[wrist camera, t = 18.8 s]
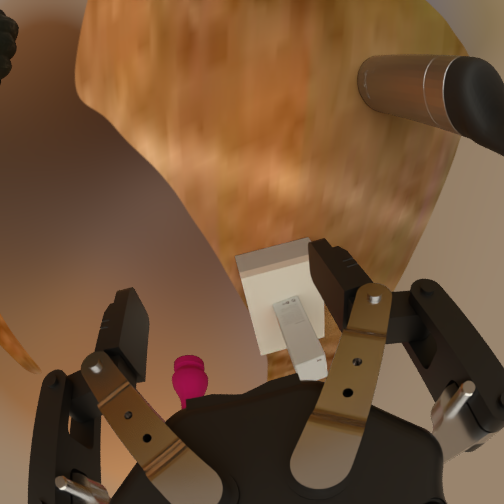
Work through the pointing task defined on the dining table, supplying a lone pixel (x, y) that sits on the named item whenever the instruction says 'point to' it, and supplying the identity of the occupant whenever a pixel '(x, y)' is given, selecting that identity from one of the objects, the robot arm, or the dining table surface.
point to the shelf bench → (278, 289)
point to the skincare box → (301, 340)
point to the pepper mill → (189, 378)
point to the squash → (7, 43)
